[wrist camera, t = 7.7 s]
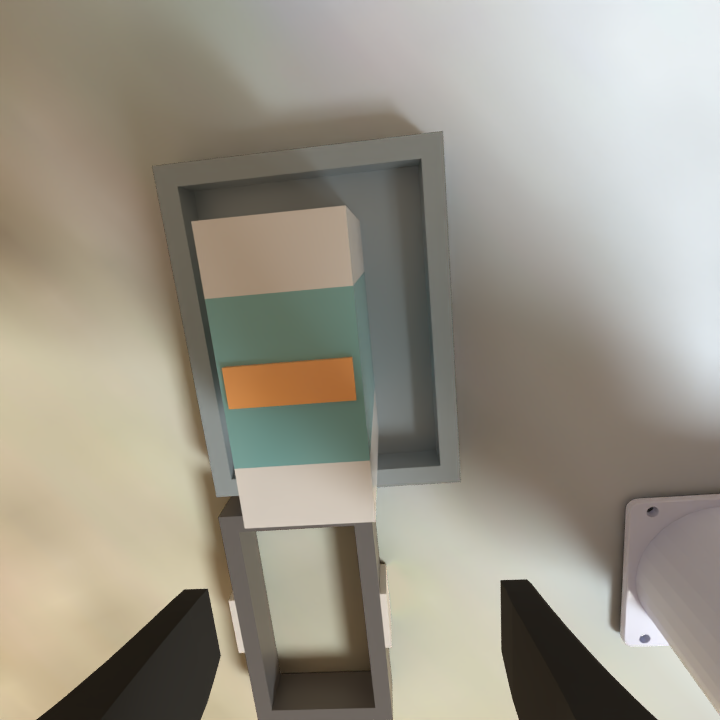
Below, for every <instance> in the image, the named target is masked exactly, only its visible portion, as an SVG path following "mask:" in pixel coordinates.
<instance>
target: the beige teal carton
mask: <svg viewBox="0 0 720 720" xmlns="http://www.w3.org/2000/svg"><path fill="white" fill-rule="evenodd" d="M191 223H192V229H193V235H194V241H195V246H196V252H197V258H198V264H199V269H200V275H201V281H202V286H203V292H204V298H205V304H206V309H207V315H208V321H209V326H210V332H211V338H212V344H213V349H214V355H215V361H216V367H217V372H218V378H219V384H220V389H221V395H222V401H223V407H224V412H225V418H226V424H227V429H228V435H229V441H230V447H231V452H232V458H233V464H234V470H235V475H236V481H237V487H238V492H239V498H240V504H241V510H242V515H243V521H244V527H245V529H247V528H266V527H286V526H305V525H325V524H344V523H364V522H376V496H377V464H378V432H379V429H378V418H377V406H376V395H375V384H374V373H373V362H372V350H371V339H370V328H369V317H368V305H367V294H366V283H365V272H364V261H363V249H362V238H361V227H360V220H359V219H358V218H357V217H356V216H355V215H354V214H353V213H352V212H351V211H350V210H349V209H348V208H347V207H346V206H335V207H325V208H316V209H306V210H296V211H287V212H277V213H267V214H258V215H248V216H238V217H229V218H219V219H209V220H200V221H191Z"/></svg>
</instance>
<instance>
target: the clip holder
mask: <svg viewBox="0 0 720 720" xmlns="http://www.w3.org/2000/svg"><path fill="white" fill-rule="evenodd" d="M218 518H219V523H220V528H221V534H222V539H223V544H224V549H225V554H226V559H227V564H228V569H229V574H230V579H231V585H232V590H233V592H232V594H231V596H230V598H229V606H230V611H231V616H232V621H233V626H234V631H235V636H236V641H237V646H238V651H239V653H245V656H246V661H247V666H248V671H249V676H250V681H251V687H252V692H253V697H254V702H255V707H256V712H257V717H258V720H393V698H392V675H391V666H390V656H389V648H392V638H391V608H390V598H389V588H388V578H387V568H386V564H380V558H379V549H378V539H377V529H376V522H364V523H344V524H325V525H305V526H286V527H266V528H247V529H245V527H244V521H243V515H242V510H241V504H240V498H239V496H231V498H230V499H229V501H228V503H227V504H226V506H225V507H224V509H223V511H222V512H221V514H220V516H219V517H218ZM340 526H354V528H355V536H356V545H357V554H358V562H359V571H360V580H361V588H362V597H363V606H364V614H365V623H366V631H367V640H368V649H369V657H370V666H371V671H357V672H326V673H295V674H281V672H280V667H279V661H278V655H277V650H276V644H275V638H274V632H273V627H272V621H271V615H270V610H269V604H268V598H267V592H266V587H265V581H264V575H263V570H262V564H261V558H260V553H259V547H258V541H257V535H256V531H269V530H287V529H305V528H323V527H340Z"/></svg>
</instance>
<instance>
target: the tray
mask: <svg viewBox="0 0 720 720" xmlns="http://www.w3.org/2000/svg"><path fill="white" fill-rule="evenodd" d="M152 168H153V173H154V178H155V183H156V189H157V194H158V199H159V204H160V209H161V214H162V219H163V225H164V230H165V235H166V240H167V245H168V250H169V255H170V260H171V266H172V271H173V276H174V281H175V286H176V291H177V296H178V302H179V307H180V312H181V317H182V322H183V327H184V332H185V337H186V343H187V348H188V353H189V358H190V363H191V368H192V373H193V379H194V384H195V389H196V394H197V399H198V404H199V409H200V414H201V420H202V425H203V430H204V435H205V440H206V445H207V450H208V456H209V461H210V466H211V471H212V476H213V481H214V486H215V491H216V497H227V496H239V492H238V487H237V481H236V475H235V470H234V464H233V458H232V452H231V447H230V441H229V435H228V429H227V424H226V418H225V412H224V407H223V401H222V395H221V389H220V384H219V378H218V372H217V367H216V361H215V355H214V349H213V344H212V338H211V332H210V326H209V321H208V315H207V309H206V304H205V298H204V292H203V286H202V281H201V275H200V269H199V264H198V258H197V252H196V246H195V241H194V235H193V229H192V223H191V221H200V220H209V219H219V218H229V217H238V216H248V215H258V214H267V213H277V212H287V211H296V210H306V209H316V208H325V207H335V206H346V207H347V208H348V209H349V210H350V211H351V212H352V213H353V214H354V215H355V216H356V217H357V218H358V219H359V220H360V227H361V238H362V249H363V261H364V272H365V283H366V294H367V305H368V317H369V328H370V339H371V350H372V362H373V373H374V384H375V395H376V406H377V418H378V429H379V432H378V464H377V487H387V486H403V485H419V484H435V483H451V482H461V479H460V459H459V439H458V420H457V400H456V380H455V361H454V341H453V321H452V301H451V282H450V262H449V242H448V223H447V203H446V183H445V163H444V144H443V131H440V132H431V133H423V134H415V135H406V136H398V137H390V138H381V139H373V140H365V141H356V142H348V143H340V144H331V145H323V146H315V147H306V148H298V149H290V150H281V151H273V152H265V153H256V154H248V155H240V156H231V157H223V158H215V159H207V160H198V161H190V162H182V163H173V164H165V165H157V166H152Z"/></svg>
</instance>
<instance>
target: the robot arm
mask: <svg viewBox="0 0 720 720" xmlns="http://www.w3.org/2000/svg"><path fill="white" fill-rule="evenodd" d="M650 507H654V508H653V510H652V511H650V512H647V510H648V509H649V508H650ZM644 634H645V635H644ZM642 635H643V636H642ZM620 636H621V638H622V640H623V641H624V643H625V644H626V645H628V646H632V647H640V646H669V645H670V647H671V648H672V649H673V651H674V652H675V654H676V655H677V656H678V658H679V659H680V661H681V662H682V663H683V665H684V666H685V668H686V669H687V670H688V672H689V673H690V675H691V676H692V677H693V679H694V680H695V682H696V683H697V684H698V686H699V687H700V689H701V690H702V691H703V693H704V694H705V696H706V697H707V698H708V700H709V701H710V702H711V704H712V705H713V707H714V708H715V709H716V711H717V712H718V714H719V715H720V494H708V495H691V496H674V497H657V498H639V499H634V500H632V501H630V502H629V503H628V504H627V507H626V517H625V539H624V561H623V582H622V604H621V625H620ZM501 649H502V655H503V660H504V664H505V669H506V673H507V678H508V682H509V686H510V690H511V695H512V699H513V702H514V705H515V708H516V712H517V715H518V718H519V720H657V719H656V718H655V717H654V716H653V715H652V714H651V713H650V712H649V711H648V710H647V709H645V708H644V707H643V706H642V705H641V704H640V703H639V702H638V701H637V700H636V699H635V698H634V697H633V696H632V695H631V694H630V693H629V692H628V691H627V690H626V689H625V688H624V687H623V686H622V685H621V684H620V683H619V682H618V681H617V680H616V679H615V678H614V677H613V676H612V675H611V674H610V673H609V672H608V671H607V670H606V669H605V668H604V667H603V666H602V665H601V664H600V663H599V662H598V661H597V659H596V658H595V657H594V656H593V655H592V654H591V653H590V652H589V651H588V650H587V649H586V647H585V646H584V645H583V644H582V643H581V642H580V641H579V640H578V639H577V638H576V636H575V635H574V634H573V633H572V632H571V631H570V630H569V629H568V627H567V626H566V625H565V624H564V623H563V622H562V620H561V619H560V618H559V617H558V616H557V615H556V613H555V612H554V611H553V610H552V609H551V607H550V606H549V605H548V604H547V602H546V601H545V600H544V599H543V598H542V596H541V595H540V594H539V593H538V591H537V590H536V589H535V588H534V586H533V585H532V584H531V583H530V582H529V581H528V580H501ZM220 656H221V655H220V650H219V644H218V639H217V634H216V629H215V624H214V618H213V613H212V608H211V603H210V598H209V592H208V589H188V590H183V591H182V592H181V593H180V594H179V595H178V596H177V597H176V598H174V599H173V600H172V601H171V602H170V603H169V604H168V605H167V606H166V607H165V608H164V609H163V610H161V611H160V612H159V613H158V614H157V615H156V616H155V617H154V618H153V619H152V620H151V621H150V622H149V623H148V624H147V625H146V626H144V627H143V628H142V629H141V630H140V631H139V632H138V633H137V634H136V635H135V636H134V637H133V638H131V639H130V640H129V641H128V642H127V643H126V644H125V645H124V646H123V647H122V648H121V649H120V650H118V651H117V652H116V653H115V654H114V655H113V656H112V657H111V658H110V659H109V660H107V661H106V662H105V663H104V664H103V665H102V666H100V667H99V668H98V669H97V670H96V671H95V672H93V673H92V674H91V675H90V676H89V677H88V678H86V679H85V680H84V681H83V682H82V683H81V684H79V685H78V686H77V687H76V688H75V689H74V690H73V691H71V692H70V693H69V694H68V695H67V696H66V697H64V698H63V699H62V700H61V701H59V702H58V703H57V704H56V705H54V706H53V707H52V708H51V709H49V710H48V711H47V712H46V713H44V714H43V715H42V716H41V717H39V718H38V719H37V720H201V717H202V715H203V712H204V710H205V707H206V704H207V702H208V698H209V695H210V692H211V688H212V685H213V682H214V678H215V675H216V671H217V667H218V664H219V660H220Z"/></svg>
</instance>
